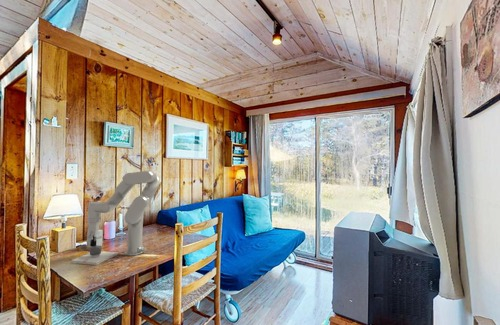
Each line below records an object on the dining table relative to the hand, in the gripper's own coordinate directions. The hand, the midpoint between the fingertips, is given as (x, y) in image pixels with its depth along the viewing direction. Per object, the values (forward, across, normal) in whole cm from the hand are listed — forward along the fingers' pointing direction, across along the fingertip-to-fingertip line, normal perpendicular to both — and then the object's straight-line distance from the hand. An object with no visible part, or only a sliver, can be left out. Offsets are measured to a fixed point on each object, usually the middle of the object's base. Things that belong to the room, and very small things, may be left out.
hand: (93, 246), depth 163 cm
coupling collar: (+2, +6, -1) cm, 7 cm away
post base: (+6, +8, +3) cm, 11 cm away
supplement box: (+6, -17, -3) cm, 18 cm away
